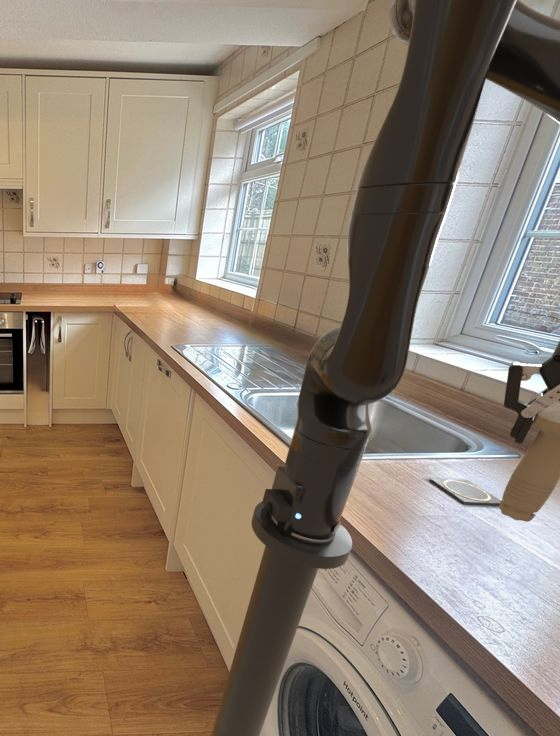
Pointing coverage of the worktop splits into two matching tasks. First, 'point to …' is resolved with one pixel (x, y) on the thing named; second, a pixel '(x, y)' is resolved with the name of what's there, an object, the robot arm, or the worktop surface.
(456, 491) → the slate board
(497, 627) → the worktop surface
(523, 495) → the handle
